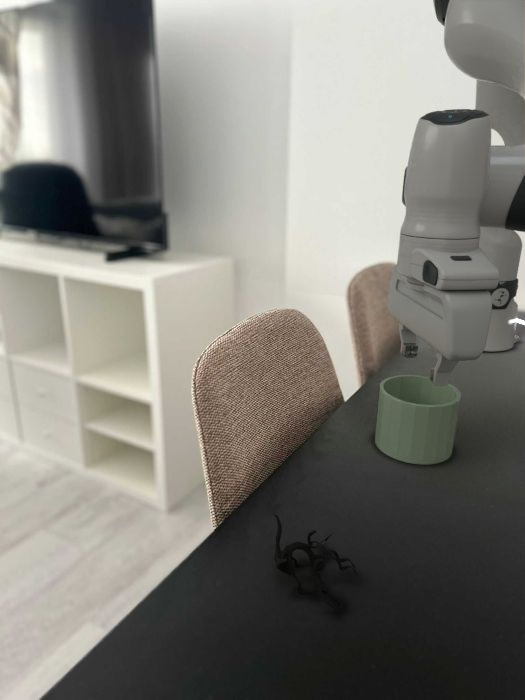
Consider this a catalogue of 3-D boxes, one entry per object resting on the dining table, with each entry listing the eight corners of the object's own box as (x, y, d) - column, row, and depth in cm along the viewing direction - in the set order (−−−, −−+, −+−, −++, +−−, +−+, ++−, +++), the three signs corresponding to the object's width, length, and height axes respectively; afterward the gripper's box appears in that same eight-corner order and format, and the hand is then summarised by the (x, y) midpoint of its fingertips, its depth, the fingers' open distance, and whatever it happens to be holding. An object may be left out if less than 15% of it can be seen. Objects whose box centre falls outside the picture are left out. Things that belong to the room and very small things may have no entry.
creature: (341, 555, 50) (262, 543, 49) (357, 509, 48) (276, 496, 47) (362, 622, 43) (269, 610, 41) (381, 571, 41) (286, 557, 40)
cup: (365, 428, 72) (369, 376, 70) (432, 425, 74) (439, 373, 71) (389, 466, 63) (396, 408, 60) (466, 462, 64) (476, 404, 62)
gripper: (380, 247, 70) (372, 343, 74) (449, 277, 50) (432, 404, 55) (425, 246, 70) (414, 342, 75) (509, 276, 51) (488, 402, 56)
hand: (422, 369), depth 65 cm, fingers open, 8 cm apart
